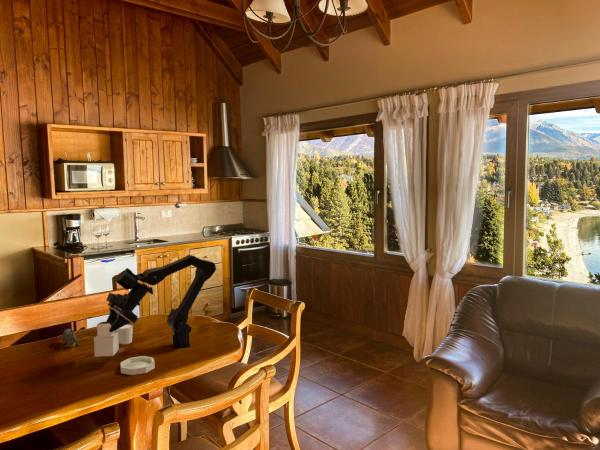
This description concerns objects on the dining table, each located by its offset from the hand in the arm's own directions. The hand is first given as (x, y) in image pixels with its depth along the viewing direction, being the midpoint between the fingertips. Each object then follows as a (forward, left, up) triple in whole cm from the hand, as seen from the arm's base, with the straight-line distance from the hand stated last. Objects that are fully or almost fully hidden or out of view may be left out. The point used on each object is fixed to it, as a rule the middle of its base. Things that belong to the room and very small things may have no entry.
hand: (107, 329), depth 176 cm
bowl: (-10, +10, -13) cm, 19 cm away
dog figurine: (+15, -29, -14) cm, 35 cm away
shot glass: (-7, -22, -13) cm, 27 cm away
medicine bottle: (0, 0, -9) cm, 9 cm away
